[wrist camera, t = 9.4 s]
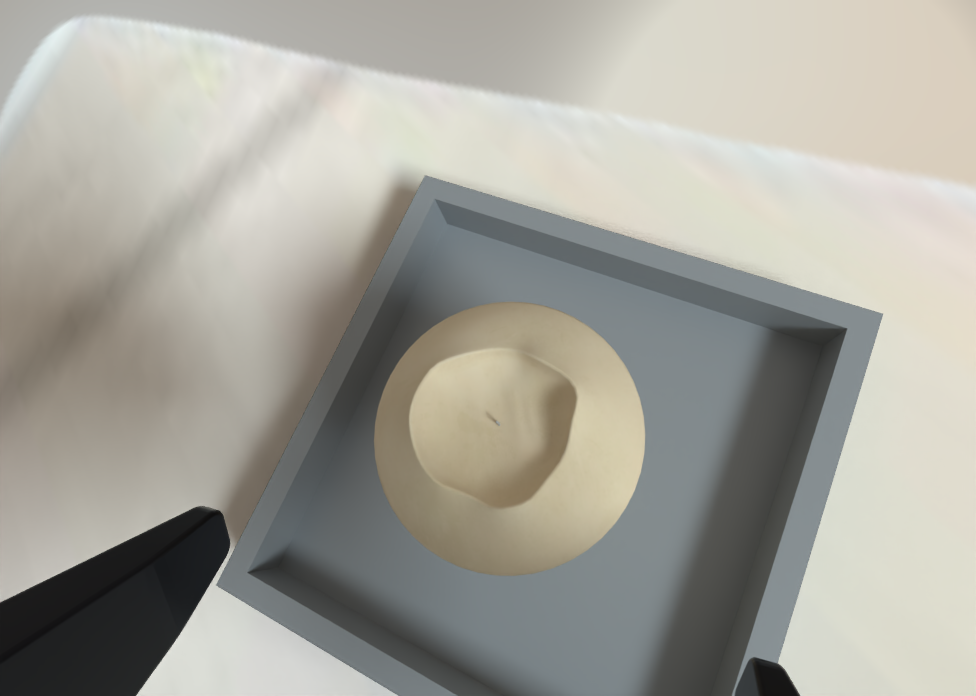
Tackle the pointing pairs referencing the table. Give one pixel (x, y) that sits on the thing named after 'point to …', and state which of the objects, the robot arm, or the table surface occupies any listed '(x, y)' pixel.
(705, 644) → the tray
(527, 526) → the candle
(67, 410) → the table surface
